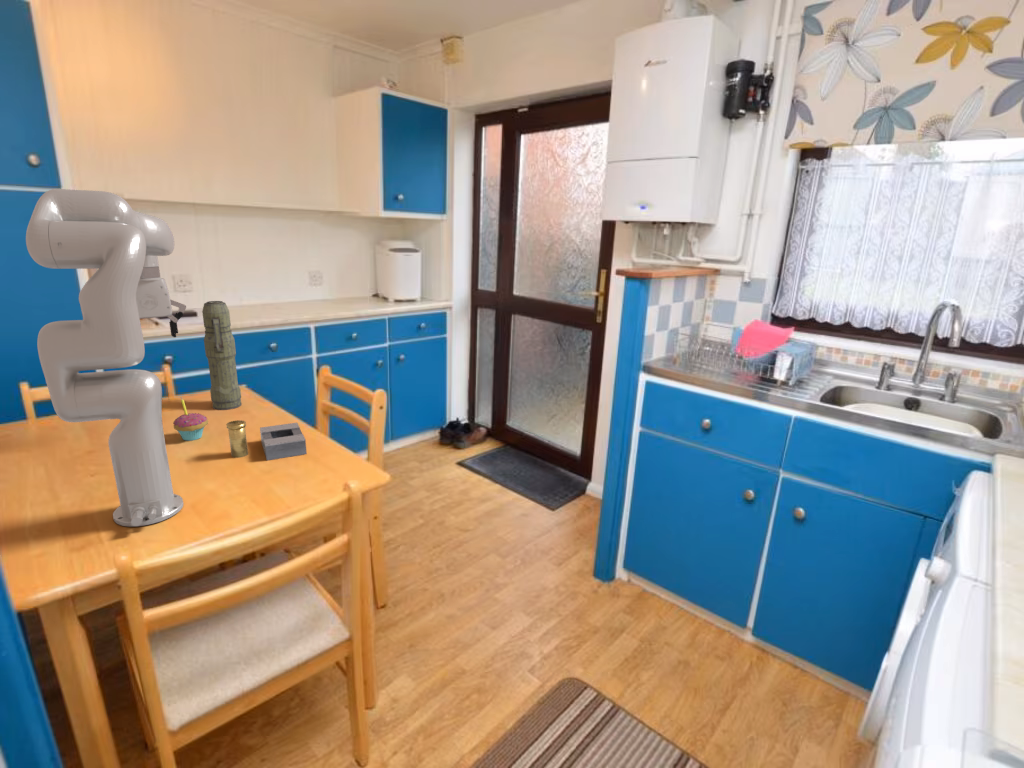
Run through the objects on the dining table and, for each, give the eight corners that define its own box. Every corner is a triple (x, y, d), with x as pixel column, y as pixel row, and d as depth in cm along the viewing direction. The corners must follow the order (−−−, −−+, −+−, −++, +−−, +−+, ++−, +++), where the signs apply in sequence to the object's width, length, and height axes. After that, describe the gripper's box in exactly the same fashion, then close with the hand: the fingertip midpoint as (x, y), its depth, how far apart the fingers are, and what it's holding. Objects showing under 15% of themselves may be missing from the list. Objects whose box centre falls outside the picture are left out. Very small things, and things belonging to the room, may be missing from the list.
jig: (306, 453, 146) (305, 439, 145) (266, 460, 142) (265, 445, 140) (298, 436, 158) (297, 422, 157) (261, 441, 153) (259, 427, 152)
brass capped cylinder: (249, 456, 144) (246, 425, 141) (230, 459, 141) (226, 427, 139) (248, 449, 148) (245, 419, 145) (229, 452, 145) (225, 421, 143)
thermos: (239, 398, 187) (228, 298, 177) (244, 408, 178) (232, 304, 168) (211, 402, 183) (197, 300, 173) (213, 412, 173) (199, 305, 163)
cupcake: (168, 441, 151) (161, 400, 148) (192, 430, 159) (186, 392, 156) (193, 445, 149) (187, 404, 146) (216, 434, 157) (211, 395, 154)
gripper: (102, 276, 130) (114, 344, 135) (183, 273, 141) (192, 337, 146) (100, 273, 136) (111, 339, 141) (178, 271, 147) (187, 332, 152)
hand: (153, 338), depth 143 cm, fingers open, 9 cm apart
